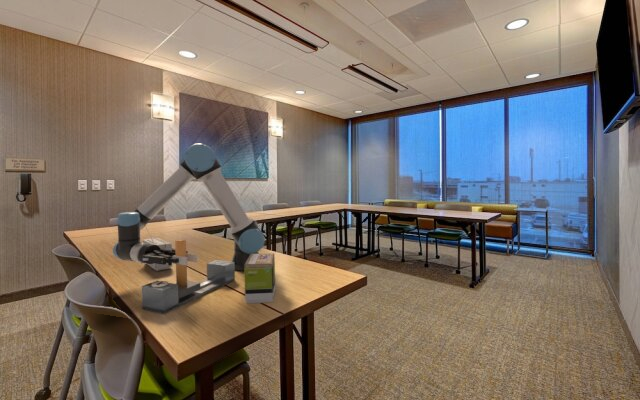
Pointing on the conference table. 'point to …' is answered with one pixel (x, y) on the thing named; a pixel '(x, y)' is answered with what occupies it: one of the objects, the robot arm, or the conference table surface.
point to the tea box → (259, 278)
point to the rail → (166, 294)
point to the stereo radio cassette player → (162, 245)
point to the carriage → (183, 272)
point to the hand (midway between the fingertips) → (191, 259)
